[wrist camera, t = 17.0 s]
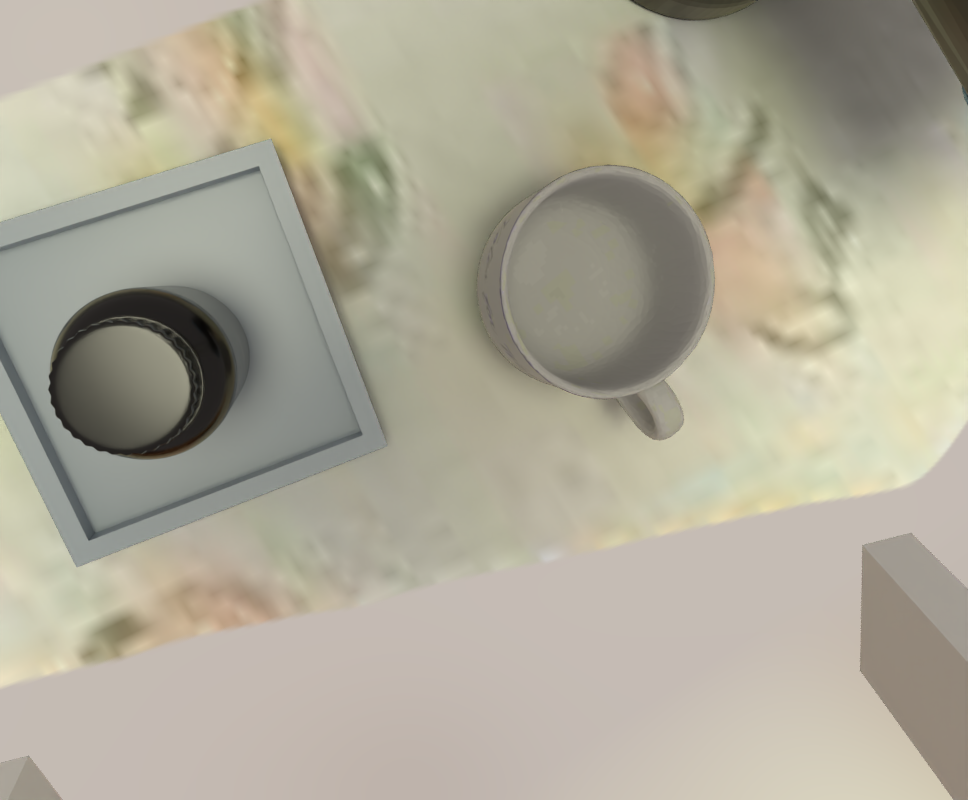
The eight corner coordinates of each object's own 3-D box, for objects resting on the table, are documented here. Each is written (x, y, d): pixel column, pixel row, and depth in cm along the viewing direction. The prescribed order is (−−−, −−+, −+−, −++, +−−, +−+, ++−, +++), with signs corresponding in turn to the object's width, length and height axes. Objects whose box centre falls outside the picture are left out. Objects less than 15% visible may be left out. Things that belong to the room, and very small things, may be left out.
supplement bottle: (120, 269, 36) (37, 261, 25) (264, 305, 38) (249, 314, 27) (89, 407, 37) (-5, 462, 25) (233, 437, 39) (206, 500, 27)
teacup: (438, 216, 40) (471, 200, 33) (621, 162, 42) (693, 135, 35) (510, 457, 43) (556, 494, 36) (679, 396, 45) (756, 419, 38)
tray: (272, 145, 38) (271, 138, 36) (383, 438, 41) (387, 446, 40) (-61, 249, 35) (-83, 247, 33) (87, 553, 39) (76, 567, 37)
